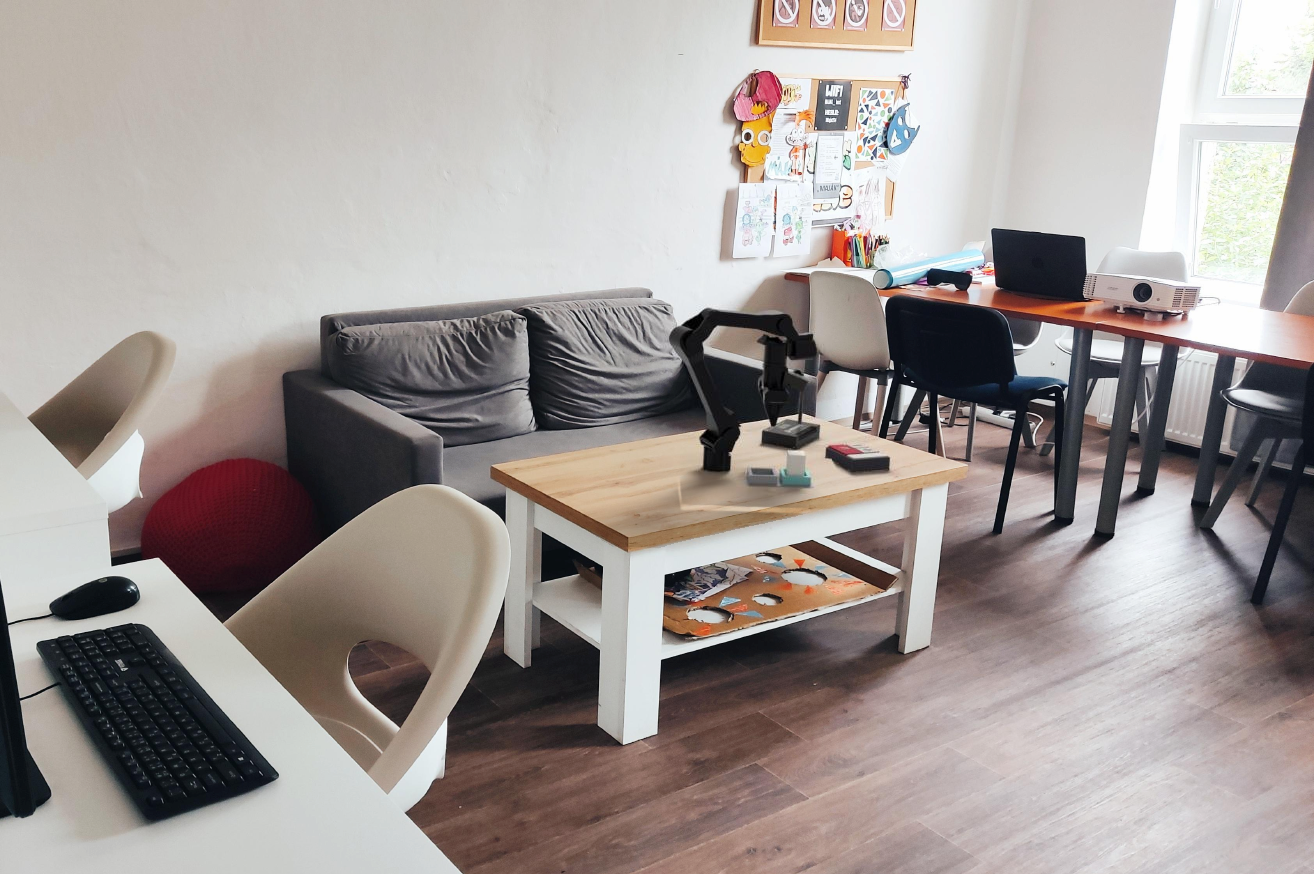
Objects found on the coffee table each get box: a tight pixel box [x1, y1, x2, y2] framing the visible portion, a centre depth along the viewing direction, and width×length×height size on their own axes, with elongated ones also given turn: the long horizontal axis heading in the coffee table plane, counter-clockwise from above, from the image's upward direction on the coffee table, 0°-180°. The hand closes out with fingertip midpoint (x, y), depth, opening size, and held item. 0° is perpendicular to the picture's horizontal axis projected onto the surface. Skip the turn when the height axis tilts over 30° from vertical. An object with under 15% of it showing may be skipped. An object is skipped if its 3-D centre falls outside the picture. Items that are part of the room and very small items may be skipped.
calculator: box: [825, 442, 891, 473], centre depth 286 cm, size 11×4×15 cm
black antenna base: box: [760, 372, 821, 451], centre depth 305 cm, size 20×14×17 cm
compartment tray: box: [744, 466, 814, 489], centre depth 266 cm, size 16×10×3 cm, turn 90°
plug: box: [785, 450, 807, 476], centre depth 265 cm, size 4×4×7 cm
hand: (771, 421), depth 277 cm, fingers open, 9 cm apart
